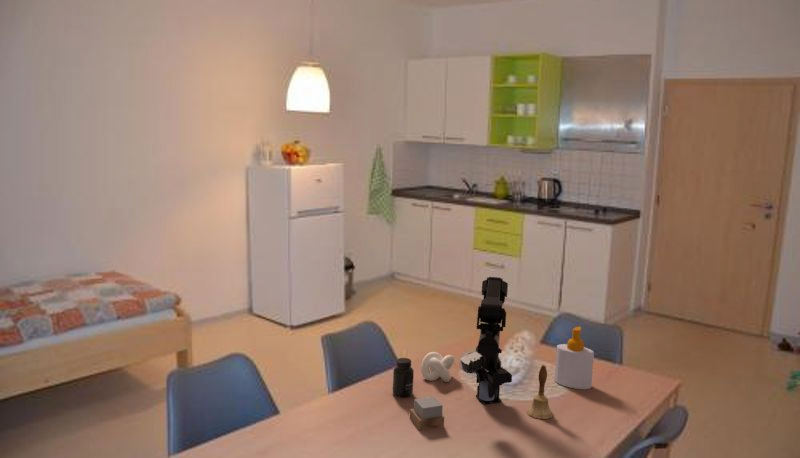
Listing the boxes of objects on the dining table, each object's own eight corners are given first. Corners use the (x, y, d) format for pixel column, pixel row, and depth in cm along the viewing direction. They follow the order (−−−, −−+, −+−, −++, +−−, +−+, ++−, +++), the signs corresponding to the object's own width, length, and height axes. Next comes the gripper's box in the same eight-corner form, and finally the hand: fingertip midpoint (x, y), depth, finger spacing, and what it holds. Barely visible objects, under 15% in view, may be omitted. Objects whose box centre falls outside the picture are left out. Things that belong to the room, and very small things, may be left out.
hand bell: (530, 405, 209) (533, 359, 206) (555, 411, 205) (559, 364, 202) (523, 415, 201) (526, 367, 199) (549, 421, 198) (553, 373, 195)
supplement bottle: (410, 399, 211) (411, 364, 209) (390, 397, 212) (391, 362, 210) (414, 391, 218) (415, 357, 216) (395, 388, 219) (395, 355, 217)
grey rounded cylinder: (489, 393, 195) (490, 379, 194) (496, 399, 190) (497, 385, 190) (476, 395, 193) (477, 381, 192) (483, 401, 189) (484, 387, 188)
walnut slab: (433, 416, 200) (433, 405, 200) (443, 427, 193) (444, 417, 192) (409, 419, 198) (410, 409, 197) (419, 431, 190) (419, 420, 190)
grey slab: (433, 407, 199) (433, 396, 198) (442, 416, 193) (442, 405, 192) (414, 410, 196) (414, 399, 196) (422, 419, 190) (422, 408, 190)
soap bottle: (594, 384, 227) (599, 329, 224) (587, 392, 220) (592, 336, 217) (558, 376, 234) (562, 322, 231) (550, 383, 227) (554, 328, 224)
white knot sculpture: (416, 382, 225) (417, 358, 223) (425, 370, 236) (425, 347, 234) (447, 387, 221) (448, 362, 220) (455, 374, 233) (456, 351, 231)
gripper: (451, 336, 195) (449, 385, 197) (479, 358, 178) (476, 411, 180) (484, 333, 199) (481, 381, 201) (514, 354, 181) (511, 406, 184)
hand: (486, 394), depth 192 cm, fingers closed on grey rounded cylinder, 4 cm apart
